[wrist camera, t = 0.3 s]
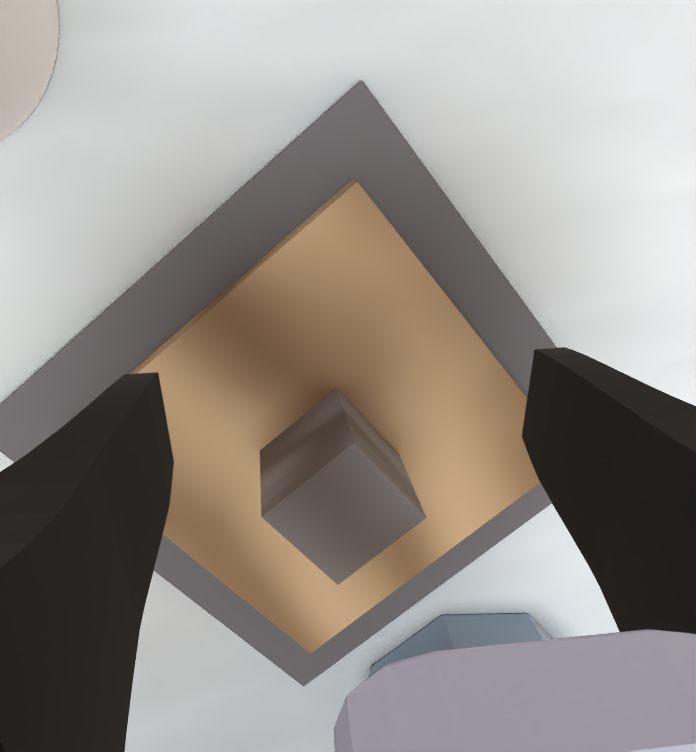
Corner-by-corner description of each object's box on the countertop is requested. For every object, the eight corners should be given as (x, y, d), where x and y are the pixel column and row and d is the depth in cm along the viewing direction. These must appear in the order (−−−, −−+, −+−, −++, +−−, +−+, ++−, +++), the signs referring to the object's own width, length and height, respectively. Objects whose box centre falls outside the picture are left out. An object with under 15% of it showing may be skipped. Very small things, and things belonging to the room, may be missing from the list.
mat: (302, 678, 29) (303, 686, 28) (-23, 425, 22) (-28, 430, 22) (623, 441, 26) (628, 446, 26) (360, 80, 20) (362, 80, 19)
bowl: (445, 796, 33) (469, 883, 29) (322, 702, 29) (332, 786, 26) (601, 690, 31) (648, 767, 28) (493, 577, 28) (529, 648, 24)
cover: (308, 635, 27) (320, 741, 23) (62, 432, 22) (13, 515, 18) (562, 444, 25) (630, 518, 21) (352, 178, 20) (381, 198, 16)
